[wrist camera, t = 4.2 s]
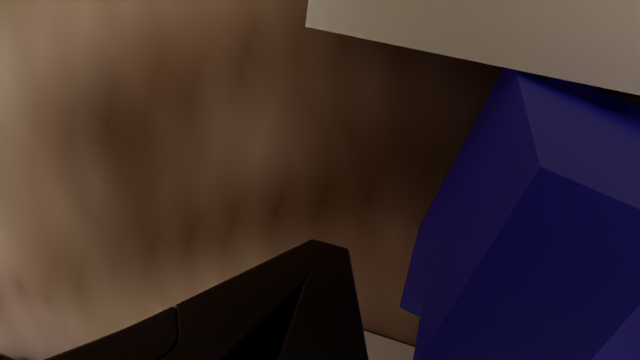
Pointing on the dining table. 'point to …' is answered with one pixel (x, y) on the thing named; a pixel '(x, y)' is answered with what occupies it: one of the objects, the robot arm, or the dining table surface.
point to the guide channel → (498, 48)
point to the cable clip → (534, 231)
